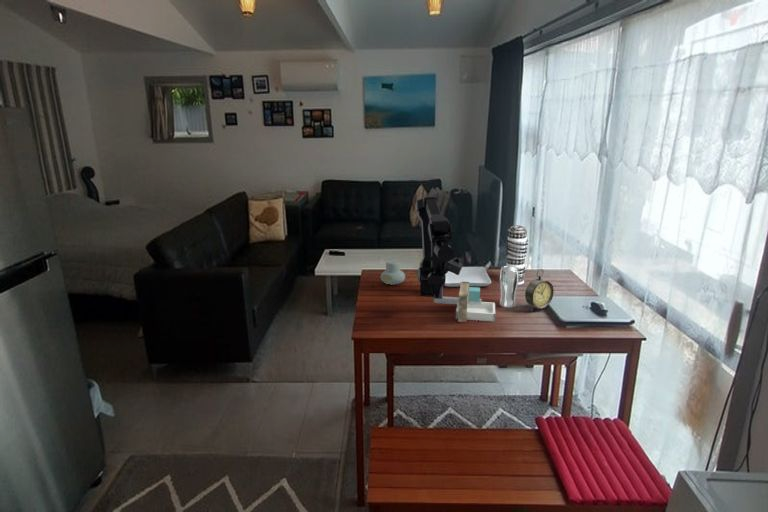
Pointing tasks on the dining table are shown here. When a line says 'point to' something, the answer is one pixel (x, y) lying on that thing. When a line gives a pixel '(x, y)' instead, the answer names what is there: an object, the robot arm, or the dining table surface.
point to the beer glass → (508, 285)
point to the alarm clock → (539, 293)
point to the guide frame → (463, 301)
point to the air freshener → (392, 273)
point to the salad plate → (468, 277)
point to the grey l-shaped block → (453, 299)
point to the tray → (480, 312)
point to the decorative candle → (517, 250)
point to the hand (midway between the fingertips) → (438, 293)
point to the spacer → (474, 294)
